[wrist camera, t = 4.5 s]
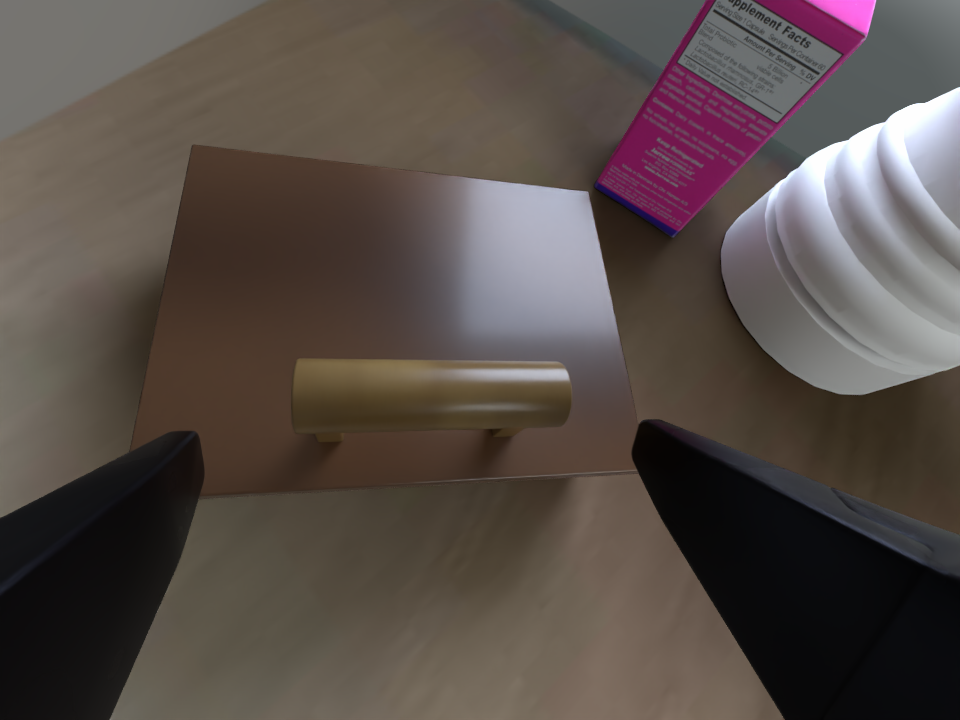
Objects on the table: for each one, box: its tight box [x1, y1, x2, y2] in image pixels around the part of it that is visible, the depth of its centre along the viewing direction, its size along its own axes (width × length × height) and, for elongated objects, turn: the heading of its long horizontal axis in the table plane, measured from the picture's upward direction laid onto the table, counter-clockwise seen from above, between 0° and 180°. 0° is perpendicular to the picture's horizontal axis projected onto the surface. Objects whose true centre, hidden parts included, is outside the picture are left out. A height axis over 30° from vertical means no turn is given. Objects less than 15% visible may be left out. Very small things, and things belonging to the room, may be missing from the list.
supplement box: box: [594, 0, 876, 237], centre depth 22 cm, size 6×6×12 cm
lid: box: [129, 145, 639, 499], centre depth 13 cm, size 11×15×5 cm
